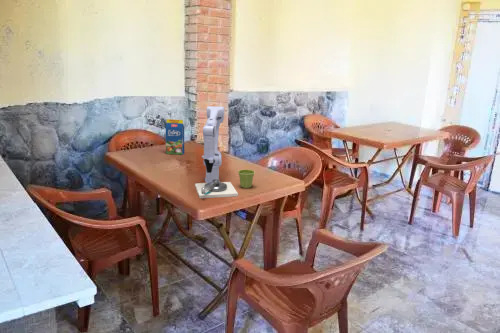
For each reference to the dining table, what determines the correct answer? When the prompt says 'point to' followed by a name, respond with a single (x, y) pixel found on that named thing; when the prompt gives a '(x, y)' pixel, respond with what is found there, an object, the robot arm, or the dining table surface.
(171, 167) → the dining table surface
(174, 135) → the blue food package
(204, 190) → the crank handle
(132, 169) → the dining table surface
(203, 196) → the base board
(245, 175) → the plant pot
